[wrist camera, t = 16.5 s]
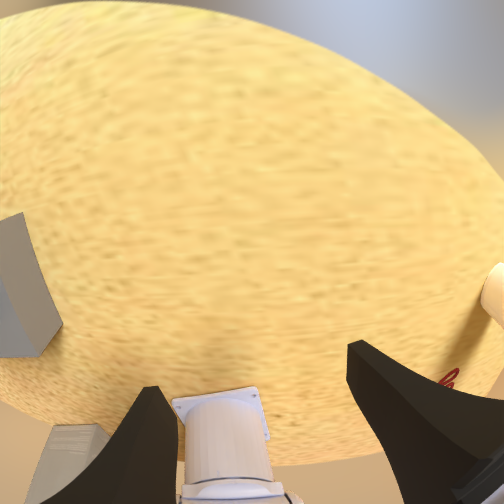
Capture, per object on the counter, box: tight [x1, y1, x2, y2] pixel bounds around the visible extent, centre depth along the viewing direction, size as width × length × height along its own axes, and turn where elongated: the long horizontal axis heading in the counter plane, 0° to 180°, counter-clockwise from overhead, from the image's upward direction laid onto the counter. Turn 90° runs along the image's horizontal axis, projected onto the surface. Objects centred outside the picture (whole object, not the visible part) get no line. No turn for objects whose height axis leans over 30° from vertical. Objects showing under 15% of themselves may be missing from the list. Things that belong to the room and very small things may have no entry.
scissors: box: [438, 368, 459, 389], centre depth 29 cm, size 5×14×1 cm, turn 102°
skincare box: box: [24, 424, 111, 504], centre depth 16 cm, size 8×7×16 cm
